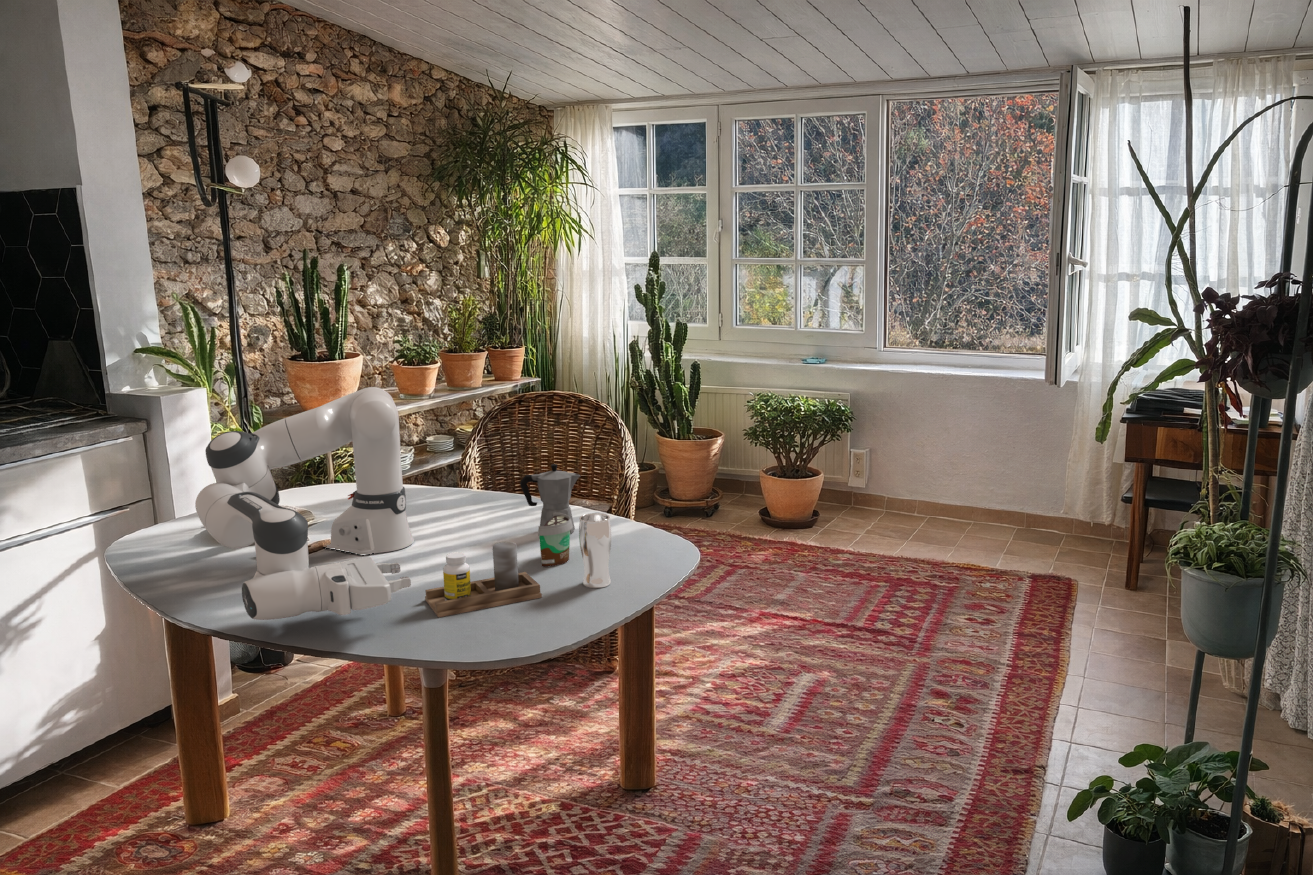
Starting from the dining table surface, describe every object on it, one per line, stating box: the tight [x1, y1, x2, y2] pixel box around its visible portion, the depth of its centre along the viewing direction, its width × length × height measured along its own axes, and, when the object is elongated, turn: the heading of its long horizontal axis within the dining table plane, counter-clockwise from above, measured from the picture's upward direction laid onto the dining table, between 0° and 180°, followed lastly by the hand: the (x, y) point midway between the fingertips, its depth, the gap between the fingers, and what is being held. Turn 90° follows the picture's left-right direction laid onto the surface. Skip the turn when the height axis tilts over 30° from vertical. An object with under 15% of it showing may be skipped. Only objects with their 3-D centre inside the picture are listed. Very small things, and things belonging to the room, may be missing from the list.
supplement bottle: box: [442, 551, 471, 601], centre depth 199 cm, size 5×5×10 cm
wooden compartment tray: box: [424, 541, 543, 618], centre depth 201 cm, size 22×11×11 cm, turn 117°
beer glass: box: [578, 512, 612, 589], centre depth 208 cm, size 7×7×15 cm
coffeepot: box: [519, 463, 581, 535], centre depth 245 cm, size 15×9×18 cm, turn 103°
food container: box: [537, 513, 573, 568], centre depth 224 cm, size 12×6×10 cm, turn 168°
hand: (404, 574), depth 193 cm, fingers open, 8 cm apart
